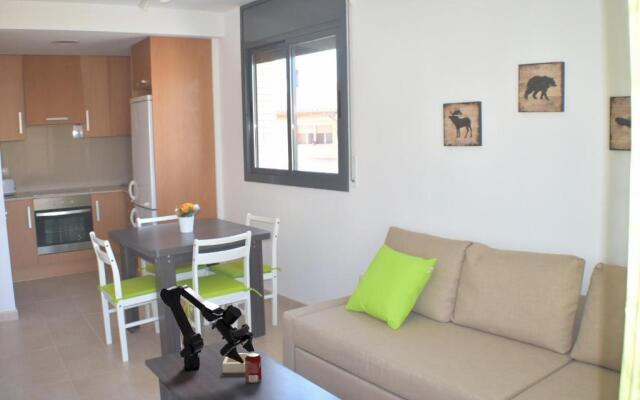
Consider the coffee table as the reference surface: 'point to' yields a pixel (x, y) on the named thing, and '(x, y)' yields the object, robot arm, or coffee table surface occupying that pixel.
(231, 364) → the open box
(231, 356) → the robot arm
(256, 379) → the soda can
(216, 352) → the coffee table surface
